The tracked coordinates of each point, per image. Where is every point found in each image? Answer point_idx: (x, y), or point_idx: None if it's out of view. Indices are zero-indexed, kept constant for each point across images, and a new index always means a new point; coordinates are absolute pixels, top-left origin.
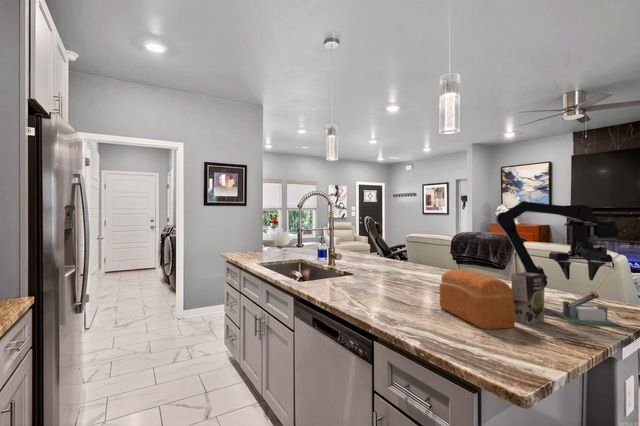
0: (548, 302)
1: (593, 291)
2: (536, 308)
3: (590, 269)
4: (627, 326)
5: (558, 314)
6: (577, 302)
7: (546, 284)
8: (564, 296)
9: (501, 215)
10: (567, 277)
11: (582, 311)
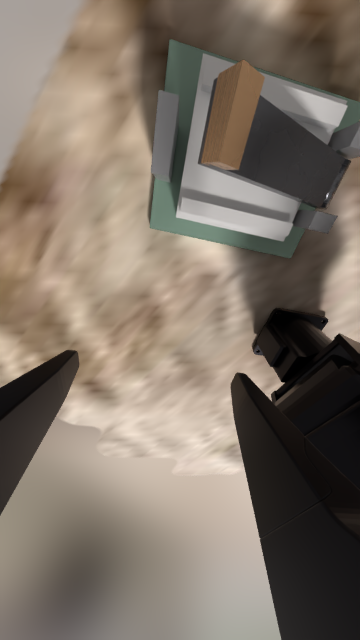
0: (188, 368)
1: (224, 137)
2: None
3: (11, 460)
4: (117, 18)
5: (301, 233)
6: (316, 163)
7: (337, 365)
8: (97, 409)
9: None
10: (255, 385)
11: (329, 96)
